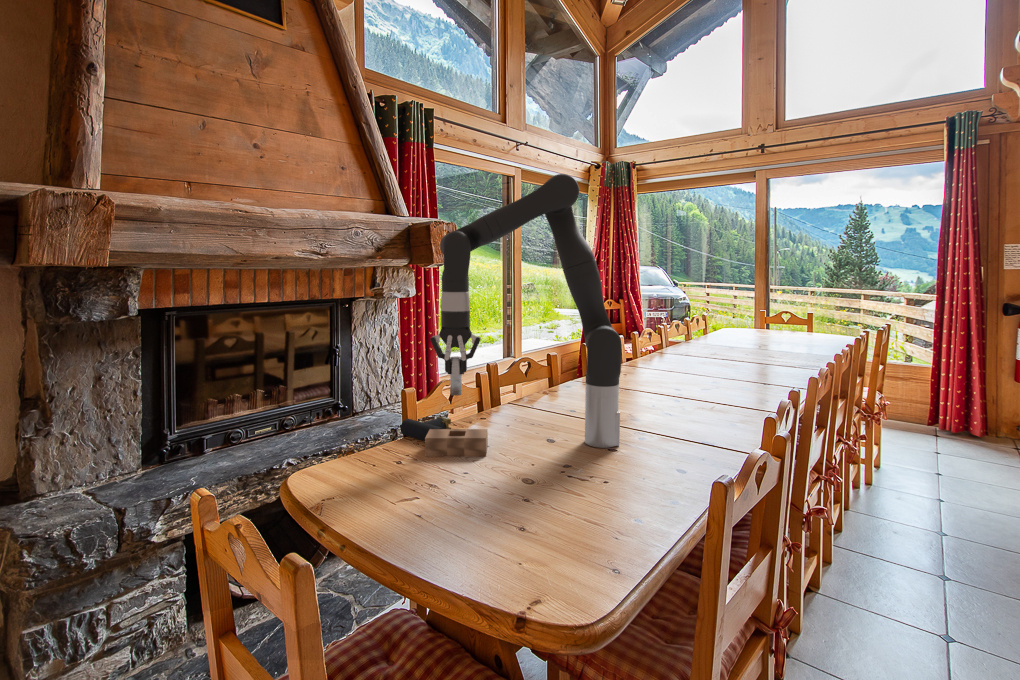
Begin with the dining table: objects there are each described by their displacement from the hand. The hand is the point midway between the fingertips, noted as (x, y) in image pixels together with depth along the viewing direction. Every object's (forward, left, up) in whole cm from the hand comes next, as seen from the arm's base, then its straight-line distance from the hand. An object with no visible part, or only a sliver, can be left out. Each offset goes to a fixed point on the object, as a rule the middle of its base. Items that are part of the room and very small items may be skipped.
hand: (455, 373), depth 143 cm
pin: (0, 0, -6) cm, 6 cm away
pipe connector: (+9, -13, -22) cm, 27 cm away
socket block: (0, 0, -21) cm, 21 cm away
